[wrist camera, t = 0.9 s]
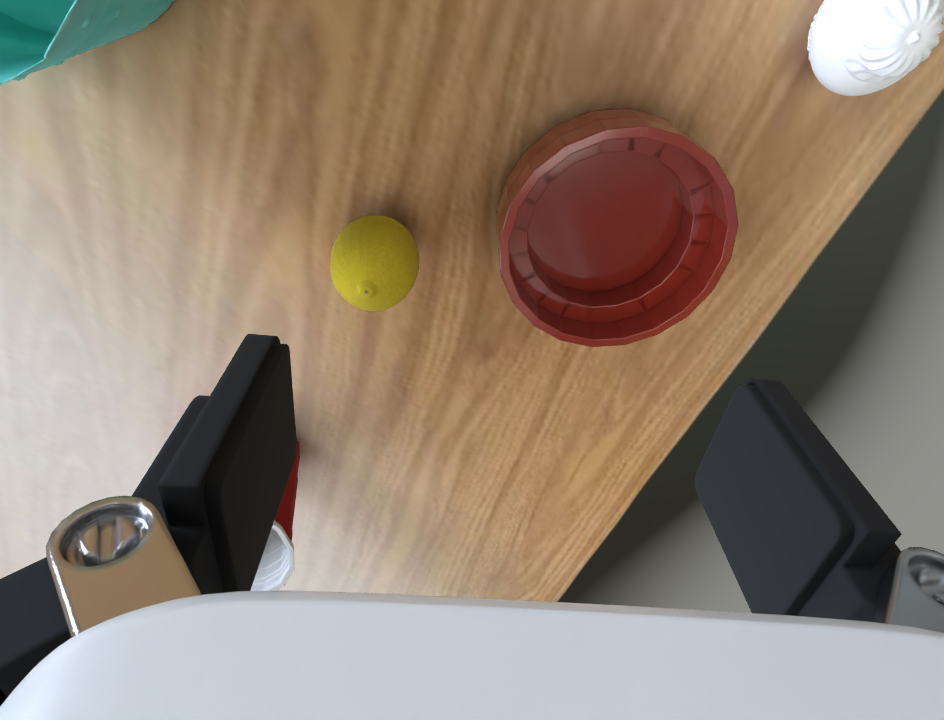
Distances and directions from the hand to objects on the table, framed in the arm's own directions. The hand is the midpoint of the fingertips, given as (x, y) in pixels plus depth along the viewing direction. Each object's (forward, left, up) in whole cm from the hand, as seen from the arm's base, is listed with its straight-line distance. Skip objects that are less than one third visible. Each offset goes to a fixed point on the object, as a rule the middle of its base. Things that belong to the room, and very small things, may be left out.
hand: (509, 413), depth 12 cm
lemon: (+10, -2, -28) cm, 30 cm away
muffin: (-15, +14, -28) cm, 35 cm away
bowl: (+1, +10, -28) cm, 30 cm away
